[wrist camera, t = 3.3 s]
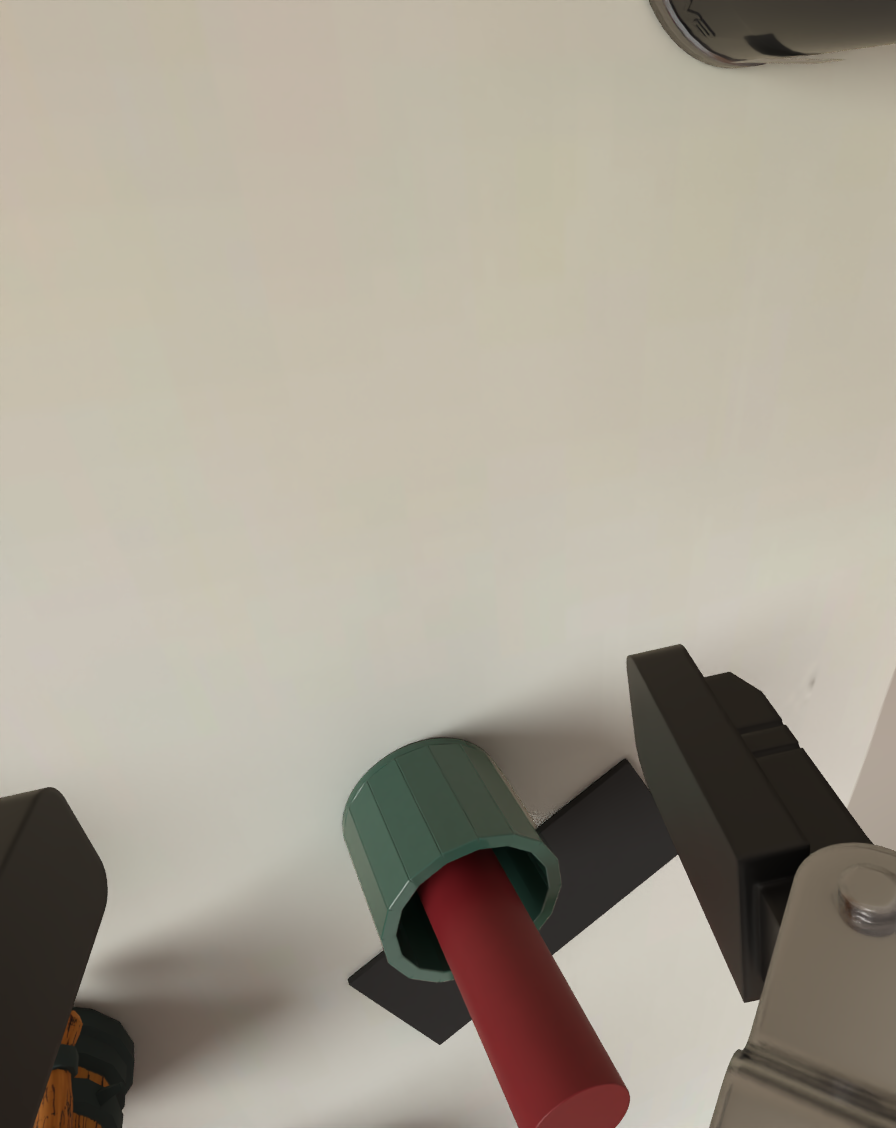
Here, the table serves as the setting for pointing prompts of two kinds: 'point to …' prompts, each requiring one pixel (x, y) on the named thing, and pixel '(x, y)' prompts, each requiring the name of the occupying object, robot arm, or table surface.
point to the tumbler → (438, 842)
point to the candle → (520, 1000)
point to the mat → (589, 889)
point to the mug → (88, 1074)
